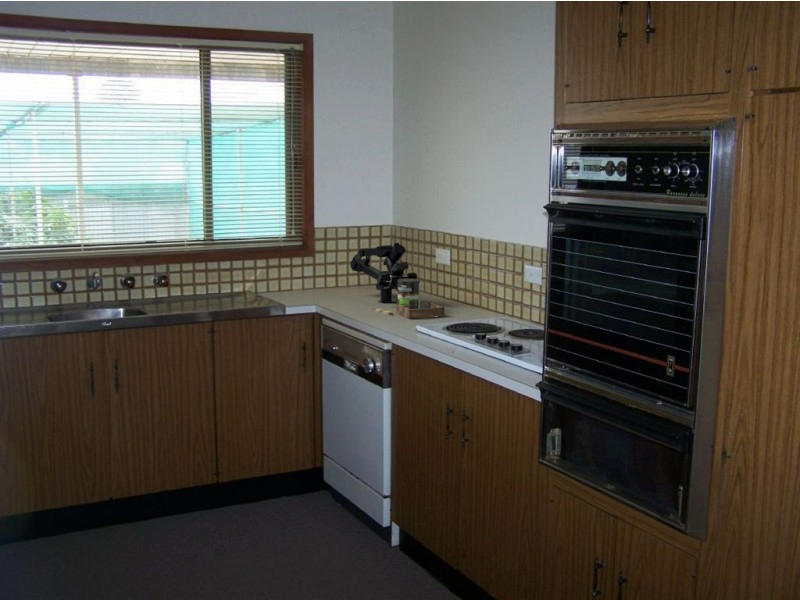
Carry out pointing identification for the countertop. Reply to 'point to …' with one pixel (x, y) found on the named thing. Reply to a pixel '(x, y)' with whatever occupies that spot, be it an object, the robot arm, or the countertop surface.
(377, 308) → the oak stirring stick
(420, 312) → the walnut cubby
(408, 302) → the coffee can
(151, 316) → the countertop surface
